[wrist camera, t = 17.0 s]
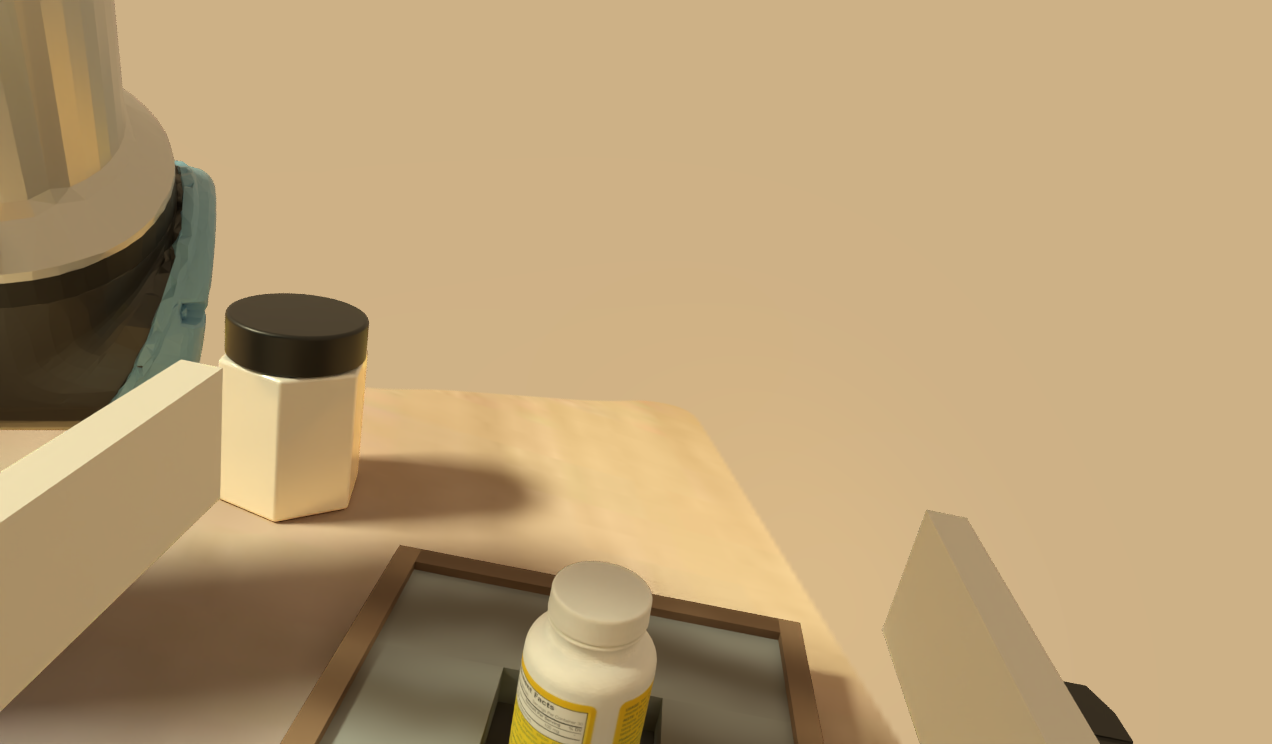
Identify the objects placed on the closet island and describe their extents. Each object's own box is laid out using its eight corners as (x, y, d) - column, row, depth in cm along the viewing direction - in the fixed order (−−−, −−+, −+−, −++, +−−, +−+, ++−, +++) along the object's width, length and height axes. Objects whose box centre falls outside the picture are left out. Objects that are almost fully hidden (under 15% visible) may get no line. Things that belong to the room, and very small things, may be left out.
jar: (334, 449, 62) (346, 290, 58) (381, 504, 56) (397, 332, 52) (199, 469, 56) (200, 293, 52) (235, 532, 50) (240, 341, 46)
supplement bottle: (610, 727, 40) (649, 549, 37) (643, 827, 35) (692, 633, 32) (494, 736, 38) (524, 550, 35) (512, 842, 33) (549, 638, 30)
